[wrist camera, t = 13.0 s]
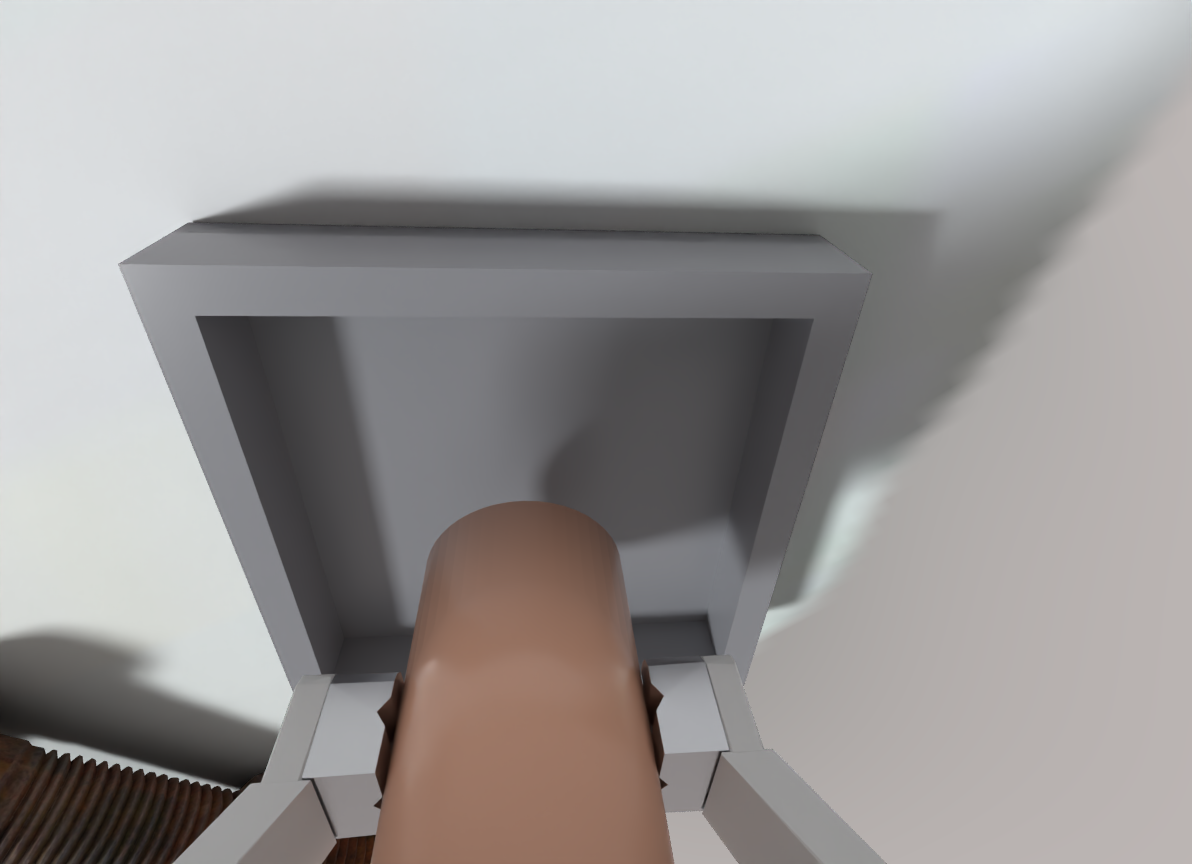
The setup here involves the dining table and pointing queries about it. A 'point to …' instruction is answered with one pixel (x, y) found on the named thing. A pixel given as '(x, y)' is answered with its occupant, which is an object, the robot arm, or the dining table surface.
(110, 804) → the bolt
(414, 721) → the peach rounded cylinder
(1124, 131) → the dining table surface
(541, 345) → the parts tray
